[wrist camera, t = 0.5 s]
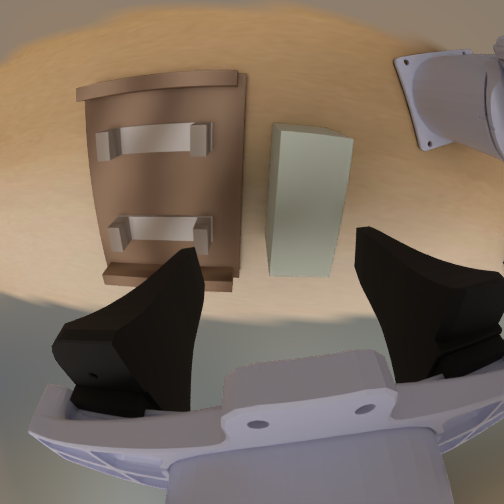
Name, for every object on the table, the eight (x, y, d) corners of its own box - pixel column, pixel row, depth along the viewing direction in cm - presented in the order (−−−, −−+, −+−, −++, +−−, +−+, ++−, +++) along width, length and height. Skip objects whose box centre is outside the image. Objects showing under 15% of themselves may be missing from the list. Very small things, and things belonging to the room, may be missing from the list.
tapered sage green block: (326, 127, 19) (353, 138, 14) (312, 235, 23) (329, 277, 18) (272, 122, 19) (281, 130, 14) (264, 233, 23) (269, 276, 18)
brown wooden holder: (246, 75, 17) (245, 69, 14) (239, 269, 25) (238, 294, 22) (92, 88, 17) (68, 89, 14) (113, 264, 25) (98, 286, 22)
